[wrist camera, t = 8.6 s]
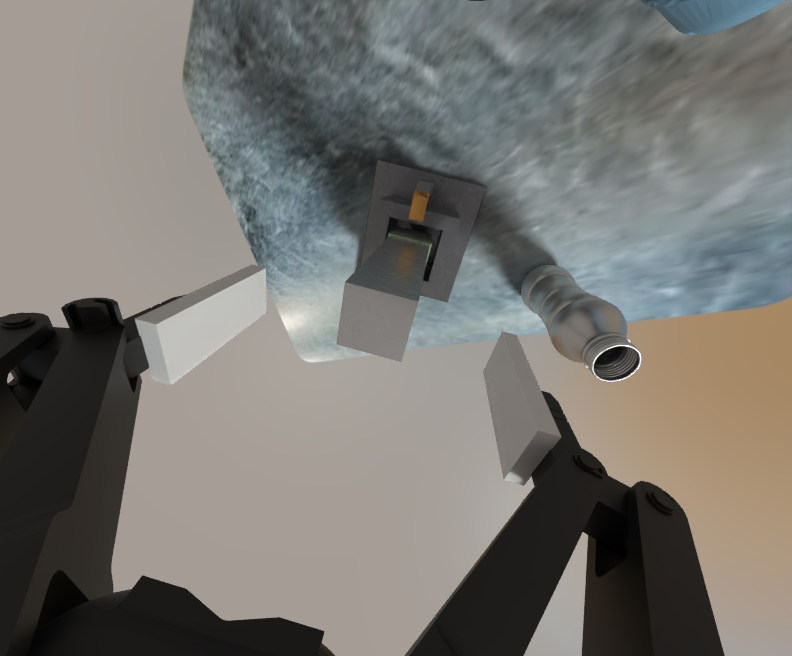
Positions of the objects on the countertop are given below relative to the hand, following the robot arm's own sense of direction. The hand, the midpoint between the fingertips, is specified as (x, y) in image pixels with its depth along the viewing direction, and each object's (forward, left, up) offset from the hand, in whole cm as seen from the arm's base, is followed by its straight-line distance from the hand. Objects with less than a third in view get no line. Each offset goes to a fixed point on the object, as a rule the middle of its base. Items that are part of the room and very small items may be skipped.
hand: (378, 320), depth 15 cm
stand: (0, 0, -28) cm, 28 cm away
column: (+1, 0, -20) cm, 20 cm away
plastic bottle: (+2, +19, -28) cm, 34 cm away
